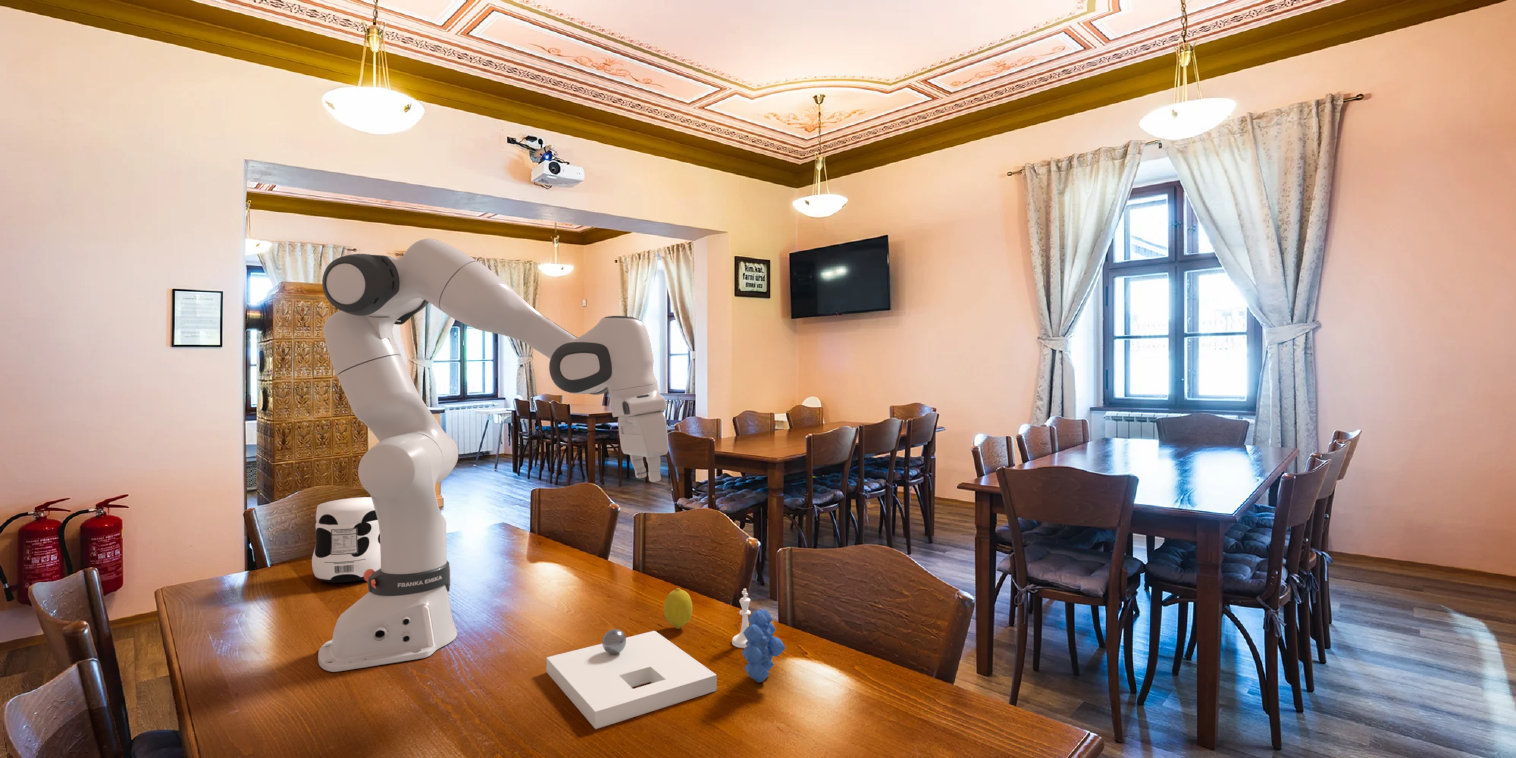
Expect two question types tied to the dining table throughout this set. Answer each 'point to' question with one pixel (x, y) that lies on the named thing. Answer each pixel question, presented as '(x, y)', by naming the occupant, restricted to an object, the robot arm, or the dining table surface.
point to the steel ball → (614, 641)
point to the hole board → (629, 678)
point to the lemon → (678, 608)
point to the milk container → (346, 540)
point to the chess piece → (743, 621)
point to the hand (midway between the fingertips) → (648, 479)
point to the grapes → (760, 645)
